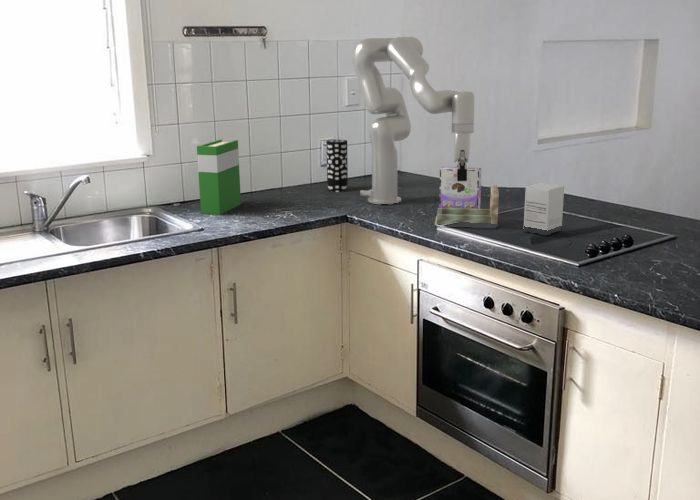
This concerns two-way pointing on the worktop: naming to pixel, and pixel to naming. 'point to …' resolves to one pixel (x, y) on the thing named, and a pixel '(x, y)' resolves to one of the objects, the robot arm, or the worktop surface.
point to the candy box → (460, 189)
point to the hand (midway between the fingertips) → (461, 178)
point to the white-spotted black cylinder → (337, 166)
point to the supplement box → (543, 206)
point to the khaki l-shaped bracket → (471, 212)
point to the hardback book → (218, 176)
